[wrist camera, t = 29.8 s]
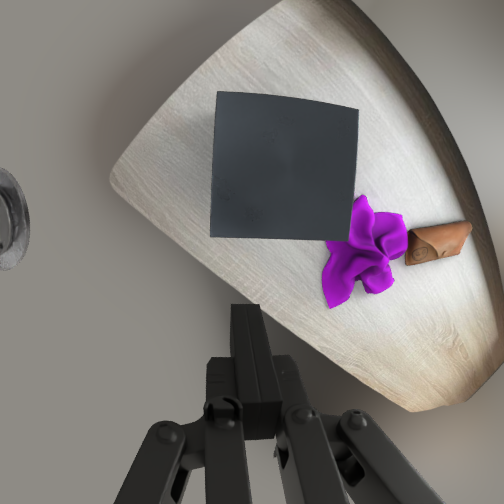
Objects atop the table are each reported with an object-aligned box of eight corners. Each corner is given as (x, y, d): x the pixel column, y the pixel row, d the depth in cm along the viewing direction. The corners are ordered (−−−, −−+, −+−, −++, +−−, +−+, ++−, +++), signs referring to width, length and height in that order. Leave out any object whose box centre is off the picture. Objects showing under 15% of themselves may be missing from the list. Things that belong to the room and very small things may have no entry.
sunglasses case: (405, 268, 50) (423, 264, 44) (397, 235, 51) (414, 227, 45) (461, 253, 51) (479, 248, 45) (454, 224, 52) (471, 217, 46)
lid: (345, 239, 30) (348, 241, 29) (210, 235, 28) (209, 237, 27) (355, 110, 26) (359, 109, 25) (217, 93, 24) (217, 91, 23)
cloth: (336, 187, 44) (353, 193, 38) (417, 212, 47) (436, 221, 41) (301, 305, 51) (310, 324, 45) (380, 312, 54) (393, 328, 48)
